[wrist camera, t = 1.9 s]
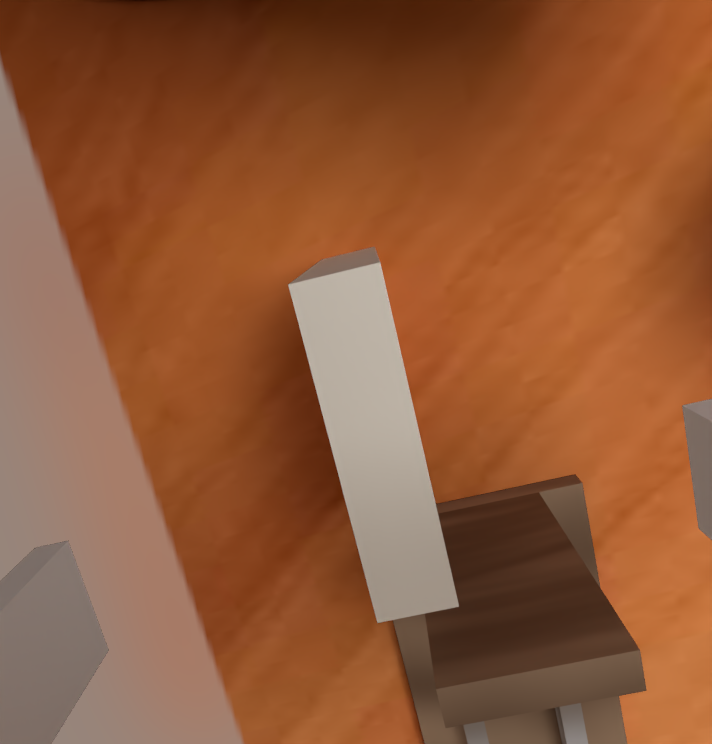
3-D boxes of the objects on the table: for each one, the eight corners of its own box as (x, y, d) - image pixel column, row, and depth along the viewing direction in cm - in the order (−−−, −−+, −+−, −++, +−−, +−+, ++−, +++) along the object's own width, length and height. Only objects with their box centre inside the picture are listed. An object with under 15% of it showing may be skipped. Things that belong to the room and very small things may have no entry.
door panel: (319, 260, 28) (284, 285, 16) (374, 246, 27) (379, 262, 16) (371, 467, 30) (373, 623, 18) (422, 456, 30) (459, 606, 18)
